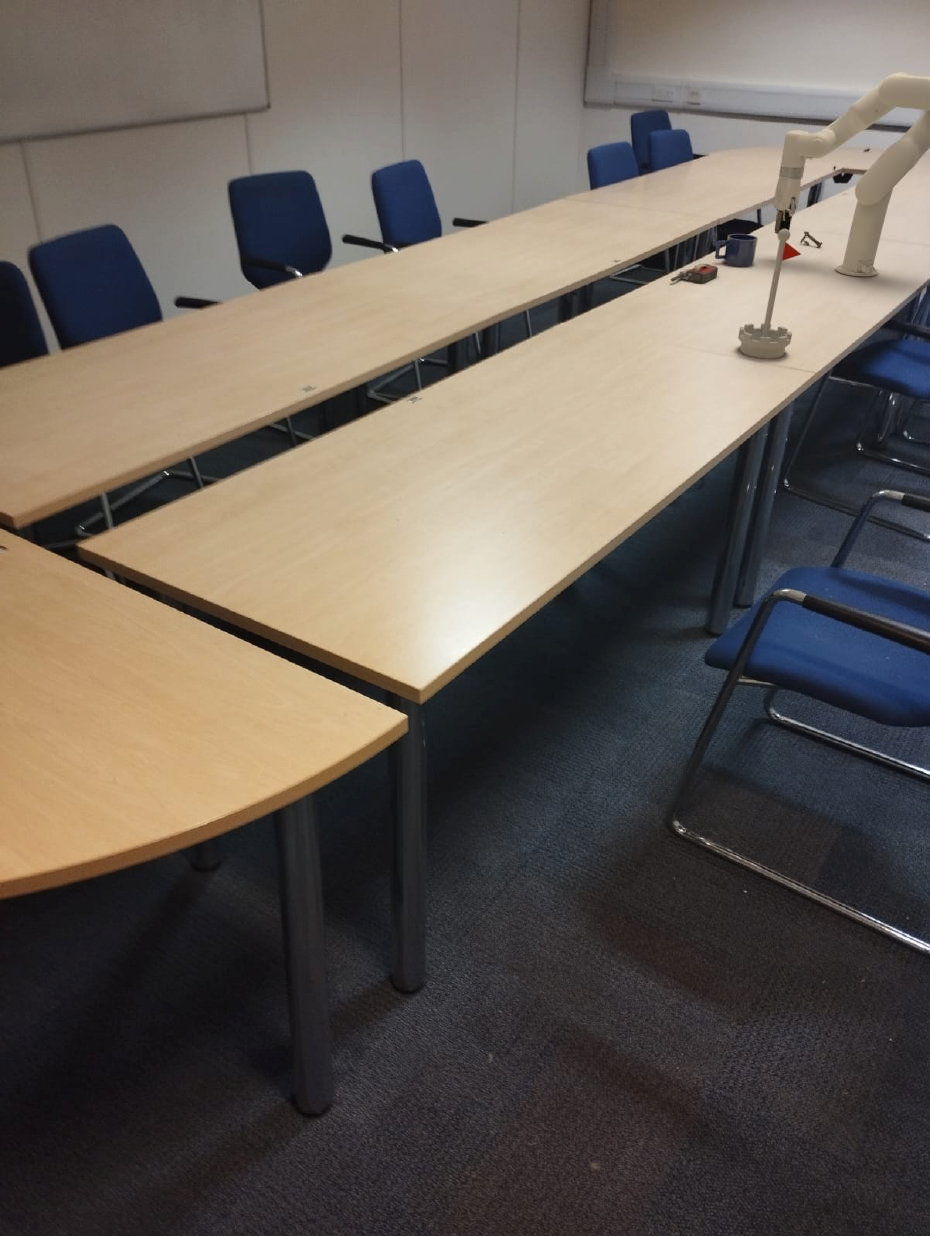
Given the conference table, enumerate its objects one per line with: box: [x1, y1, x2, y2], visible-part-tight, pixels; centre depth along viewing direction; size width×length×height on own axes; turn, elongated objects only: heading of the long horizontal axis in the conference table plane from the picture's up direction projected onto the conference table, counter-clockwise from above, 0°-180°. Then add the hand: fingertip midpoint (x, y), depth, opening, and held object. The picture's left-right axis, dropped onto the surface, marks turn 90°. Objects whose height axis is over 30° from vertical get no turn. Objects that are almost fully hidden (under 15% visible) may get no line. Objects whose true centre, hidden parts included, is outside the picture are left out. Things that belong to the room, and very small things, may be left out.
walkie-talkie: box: [670, 262, 719, 284], centre depth 309 cm, size 9×4×20 cm
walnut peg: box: [774, 211, 789, 235], centre depth 327 cm, size 3×3×7 cm
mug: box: [714, 233, 759, 268], centre depth 328 cm, size 13×10×8 cm
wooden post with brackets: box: [799, 230, 823, 249], centre depth 354 cm, size 2×8×4 cm, turn 45°
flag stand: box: [737, 229, 802, 359], centre depth 243 cm, size 13×13×30 cm
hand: (781, 231), depth 329 cm, fingers closed on walnut peg, 3 cm apart
